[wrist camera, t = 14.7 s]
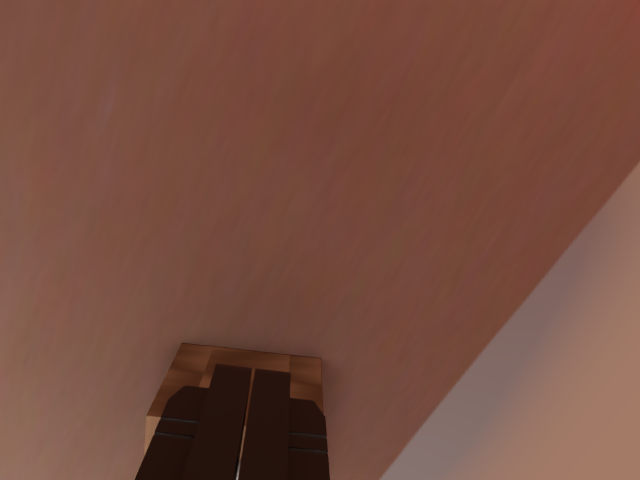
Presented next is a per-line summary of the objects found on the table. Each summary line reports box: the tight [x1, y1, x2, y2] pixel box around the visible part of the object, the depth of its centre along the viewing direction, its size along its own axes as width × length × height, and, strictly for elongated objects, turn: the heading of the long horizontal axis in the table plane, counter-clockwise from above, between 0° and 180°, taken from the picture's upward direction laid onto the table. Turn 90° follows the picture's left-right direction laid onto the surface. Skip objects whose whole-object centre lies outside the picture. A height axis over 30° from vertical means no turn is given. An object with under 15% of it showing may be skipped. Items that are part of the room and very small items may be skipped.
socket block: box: [144, 343, 323, 460], centre depth 37 cm, size 10×10×9 cm
